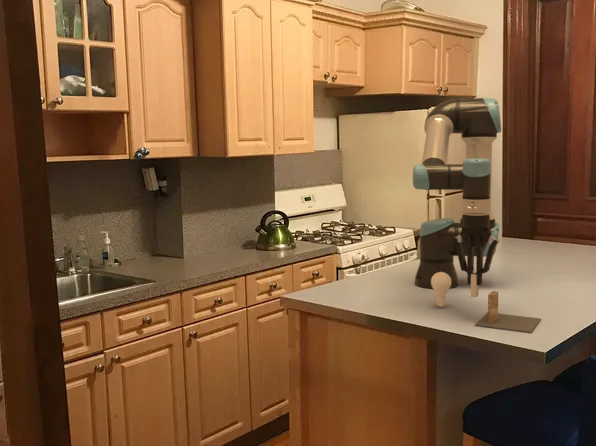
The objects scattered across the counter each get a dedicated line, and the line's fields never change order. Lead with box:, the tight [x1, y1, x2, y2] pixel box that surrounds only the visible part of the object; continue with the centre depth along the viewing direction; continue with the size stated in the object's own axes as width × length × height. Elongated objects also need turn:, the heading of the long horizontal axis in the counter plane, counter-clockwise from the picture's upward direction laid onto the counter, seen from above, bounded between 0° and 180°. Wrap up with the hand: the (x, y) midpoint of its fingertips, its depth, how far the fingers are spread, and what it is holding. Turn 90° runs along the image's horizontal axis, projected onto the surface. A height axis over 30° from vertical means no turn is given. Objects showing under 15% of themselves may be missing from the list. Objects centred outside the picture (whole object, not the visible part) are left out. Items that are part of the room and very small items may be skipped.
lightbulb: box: [431, 272, 451, 308], centre depth 196 cm, size 6×6×11 cm
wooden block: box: [487, 290, 499, 324], centre depth 179 cm, size 2×5×8 cm, turn 149°
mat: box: [474, 311, 542, 334], centre depth 178 cm, size 15×14×1 cm
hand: (474, 295), depth 181 cm, fingers closed
